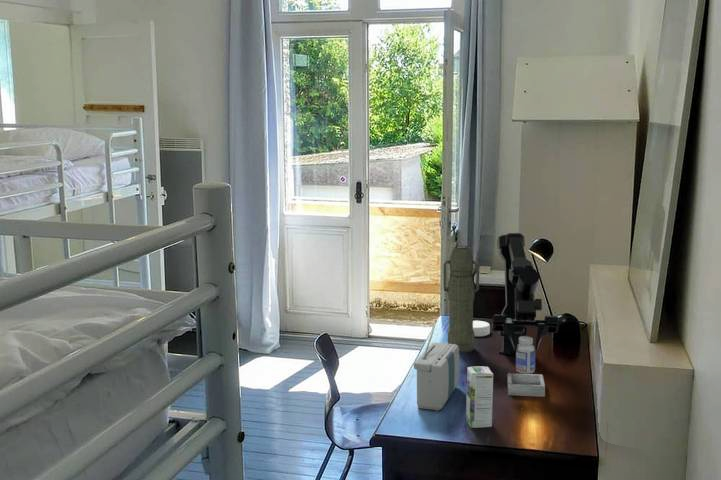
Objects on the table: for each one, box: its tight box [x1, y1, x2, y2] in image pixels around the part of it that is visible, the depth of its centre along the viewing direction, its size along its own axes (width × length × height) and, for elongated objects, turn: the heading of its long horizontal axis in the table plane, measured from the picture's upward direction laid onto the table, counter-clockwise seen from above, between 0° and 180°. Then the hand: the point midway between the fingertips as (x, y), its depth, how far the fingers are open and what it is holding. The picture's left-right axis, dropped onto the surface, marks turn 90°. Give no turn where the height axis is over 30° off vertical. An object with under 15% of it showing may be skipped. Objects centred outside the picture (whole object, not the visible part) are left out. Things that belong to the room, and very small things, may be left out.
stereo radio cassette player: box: [413, 320, 461, 412], centre depth 216 cm, size 21×8×20 cm, turn 160°
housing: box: [507, 372, 546, 398], centre depth 222 cm, size 10×10×3 cm
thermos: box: [442, 245, 481, 354], centre depth 258 cm, size 9×12×35 cm
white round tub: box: [473, 320, 491, 337], centre depth 280 cm, size 10×10×4 cm
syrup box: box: [465, 365, 494, 429], centre depth 198 cm, size 6×6×14 cm
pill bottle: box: [515, 335, 536, 374], centre depth 221 cm, size 5×5×10 cm
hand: (525, 350), depth 219 cm, fingers closed on pill bottle, 5 cm apart
